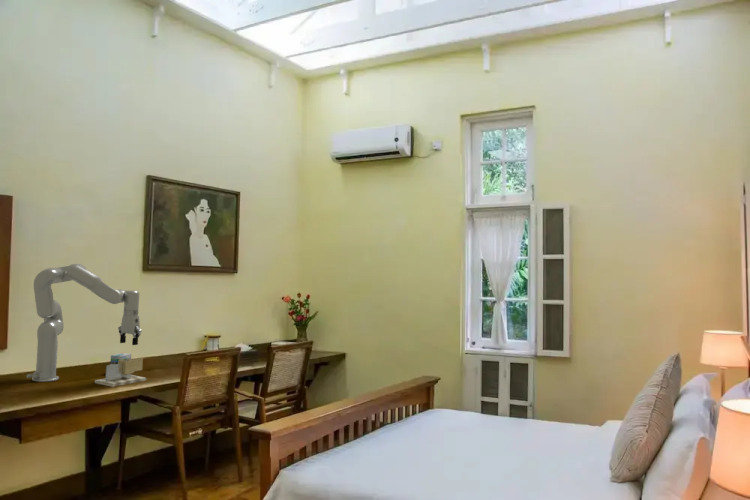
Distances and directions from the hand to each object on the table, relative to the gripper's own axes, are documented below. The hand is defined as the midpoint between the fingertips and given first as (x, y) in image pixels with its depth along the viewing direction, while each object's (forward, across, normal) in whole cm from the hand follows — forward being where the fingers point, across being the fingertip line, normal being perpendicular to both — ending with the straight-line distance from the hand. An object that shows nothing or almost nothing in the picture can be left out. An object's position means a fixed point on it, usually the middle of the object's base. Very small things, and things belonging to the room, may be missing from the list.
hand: (128, 343), depth 328 cm
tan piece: (+16, 0, -3) cm, 16 cm away
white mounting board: (+20, 0, +4) cm, 21 cm away
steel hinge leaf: (+19, 0, +6) cm, 20 cm away
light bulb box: (+21, +20, -12) cm, 31 cm away
